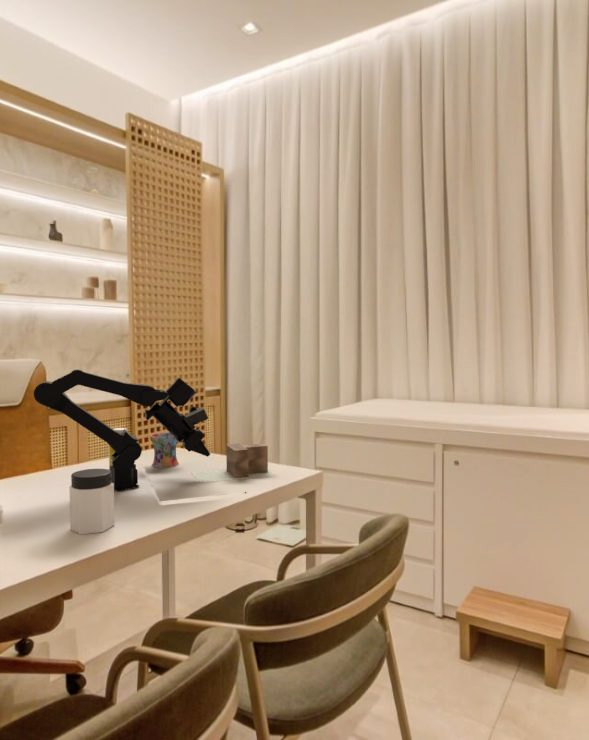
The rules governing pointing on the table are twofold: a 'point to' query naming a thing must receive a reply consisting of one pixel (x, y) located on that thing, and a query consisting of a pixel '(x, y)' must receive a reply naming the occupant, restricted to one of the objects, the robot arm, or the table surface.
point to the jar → (91, 501)
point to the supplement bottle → (111, 447)
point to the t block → (246, 459)
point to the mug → (164, 450)
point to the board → (222, 476)
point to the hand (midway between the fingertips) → (209, 455)
